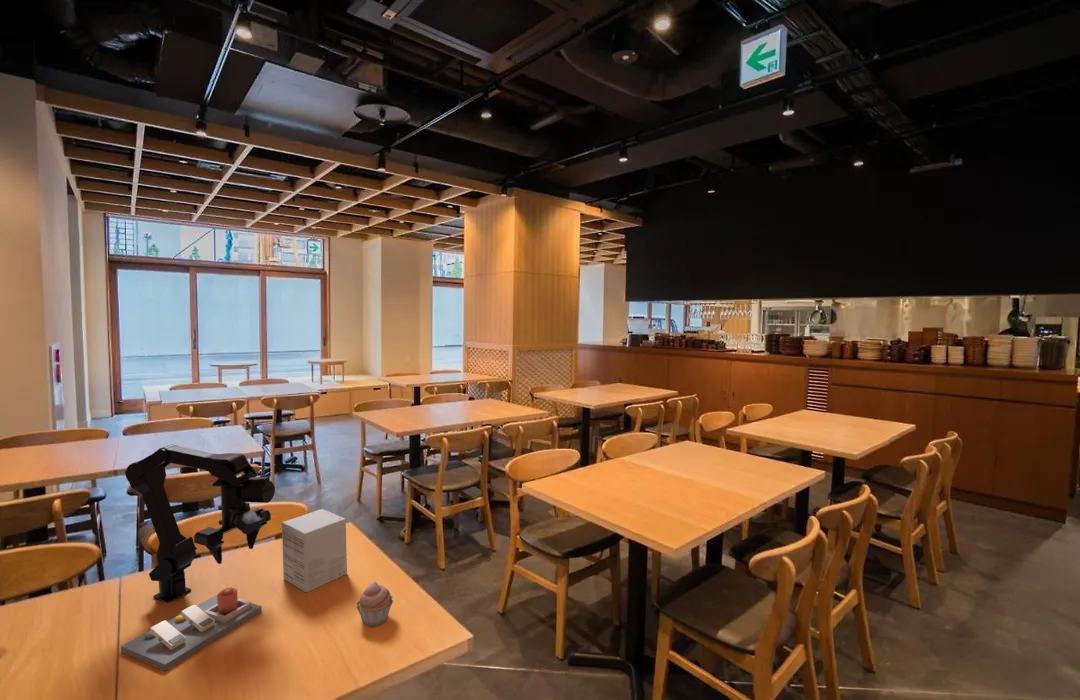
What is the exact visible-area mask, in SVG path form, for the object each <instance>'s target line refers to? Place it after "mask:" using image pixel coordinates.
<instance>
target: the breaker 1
mask: <svg viewBox="0 0 1080 700" xmlns="http://www.w3.org/2000/svg"><path fill="white" fill-rule="evenodd" d="M167 621H168V620H166V619H165V620H163V621H160V622H159V623H156V624H155V625H153V626H150V628H149V631H150V633H152V634H153V635H154V636H155V637H156V638H157V639H158V641H161V642H162V643H163V644H164V645H166V646H167V647H168V648H169V649H170V650H172V649H174V648H176V647H177V646H179V645H181V644H183V643H184V642H186V637H185V636H184V635H183V634H181V633H180V632H179V631H178V629H177V628H174V627H173V626H172V625H171V624H169V623H168V622H167Z"/></svg>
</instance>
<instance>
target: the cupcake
mask: <svg viewBox="0 0 1080 700" xmlns="http://www.w3.org/2000/svg"><path fill="white" fill-rule="evenodd" d="M393 598H394V596H393V595H391V592H390V590H389V589H388V588H387V587H385V586H384V585H381V584H378V582H376V581H374V582H373V583H369V585H368V586H367V587H365V589H364V591H363V592H362V593H361V594H360V596H359V600H358V601H357V602H355V605H356V610H357V611H358V613H359V616H360V620H361V622H362V624H363V625H364V626H366V627H371V628H373V627H379V626H380V625H382V624H384V623H385V622H386V621H387V620H388V617H389V615H390V614H389V613H390V609H391V607H392V605H393V603H394V600H393Z"/></svg>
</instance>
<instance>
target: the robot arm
mask: <svg viewBox="0 0 1080 700" xmlns="http://www.w3.org/2000/svg"><path fill="white" fill-rule="evenodd" d="M170 464H174V465H179V466H184V467H188V468H193V469H198V470H203V471H206V472H208V473H209V474H210V475H211V476H213V478H214V477H215V478H216V479H217V480H216V481H215V482H213V483H212V486H213V487H220V505H218V506H217V509H218V511H221V519H220V520H218V525H220V526H221V527H218V528H214V527H210V526H209V527H206V528H204V529H201V530H199V531H196V532H195V534H194V536H193V537H192V536H188V537H186V536H185V535H183V534H182V533H181V532H180V529H179V525H178V523H177V520H176V517H175V514H174V512H173V509H172V506H171V504H170V501H169V498H168V496H167V492H166V490H165V482H166V477H167V473H166V468H167V467H168V466H170ZM124 474H125V477H126V480H127V481H128V483H129V485H130V487H131V488H132V489H133V490H135V491H136V492H138V493H139V494H141V497H142V499H143V502H144V505H145V507H146V510H147V511H148V515H149V518H150V520H151V524H152V527H153V529H154V531H155V534H156V538H157V540H158V542H159V544H158V547H157V553H156V559H157V565H156V566H155V567H154V568H153V569H152V570H151V571H150V572H149V573H148V575H149V579H150V580H151V581H153V582H158V588H159V589H158V591H159V593H158V592H157V593H156V594H154V595H153V598H154V599H157V600H159V601H162V602H165V603H170V602H172V601H174V600H176V599H177V598H178V599H179V598H180V597H182V596H184V595H186V594H188V593H190V592H192V588H190V587H187V586H186V572H185V570H186V569H188V568H189V567H191V565H192V562H193V561H194V560H195V559H196V556H197V552H196V551H197V549H198V548H197V547H196V545H195V544H197V545H201V546H205V547H206V548H207V550H208V551H209V553H210V554H211V555H212V556H213V558H214V560H215V562H216V563H217V565H221V564H222V562H223V551H222V550H223V549H222V546H223V544H224V543H225V541H224V540H223V539H224V535H225V534H227V533H230V532H231V531H232V532H233V531H234V530H236V529H237V530H239V531H241V533H242V534H244V535H245V536H246V541H247V542H246V543H247V547H248V549H249V550H253V549H254V547H255V543H256V541H257V537H258V534H259V532H260V530H261V529H262V528H263V527H264V526H265V525H267V524H268V522H269V521H271V519H272V513H271V511H269V510H268V509H266V508H265V507H262V508H259V507H257V508H254V509H251V505H250V503H259V504H260V503H261V504H262V503H264V504H268V503H270V502H272V500H273V499H274V496H275V492H276V487H275V484H274V483H273V481H271V480H270V479H271V478H270V476H262V477H258V473H257V471H256V470H255V469H254V468H253V466H252V464H251V463H250V462H249V461H248V459H247V457H246V455H245V454H244V453H239V452H237V453H236V452H227V453H225V452H224V453H211V452H208V451H207V452H206V451H202V450H197V449H193V448H189V447H184V446H179V445H178V444H169V445H166V446H163V447H160V448H158V449H157V450H156V451H154V452H153V453H152V454H149V455H148V456H146V457H144V458H143V459H141V460H139V461H136V462H133V463H130V464H129V465H128V466H127V468H126V470H125V471H124ZM239 475H240V476H239ZM237 476H238V477H237Z"/></svg>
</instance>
